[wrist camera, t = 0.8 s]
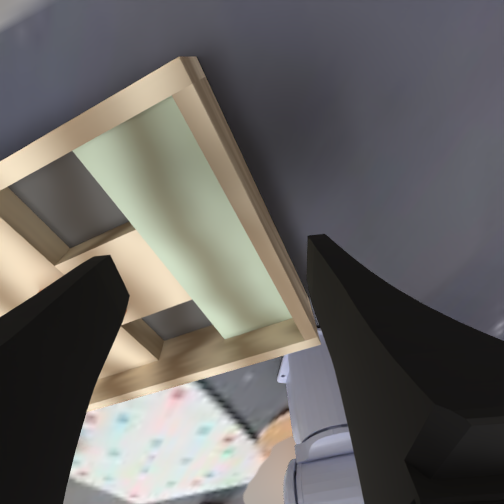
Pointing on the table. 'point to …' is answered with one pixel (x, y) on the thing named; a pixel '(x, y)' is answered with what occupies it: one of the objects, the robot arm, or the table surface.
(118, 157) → the trap box
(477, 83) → the table surface
